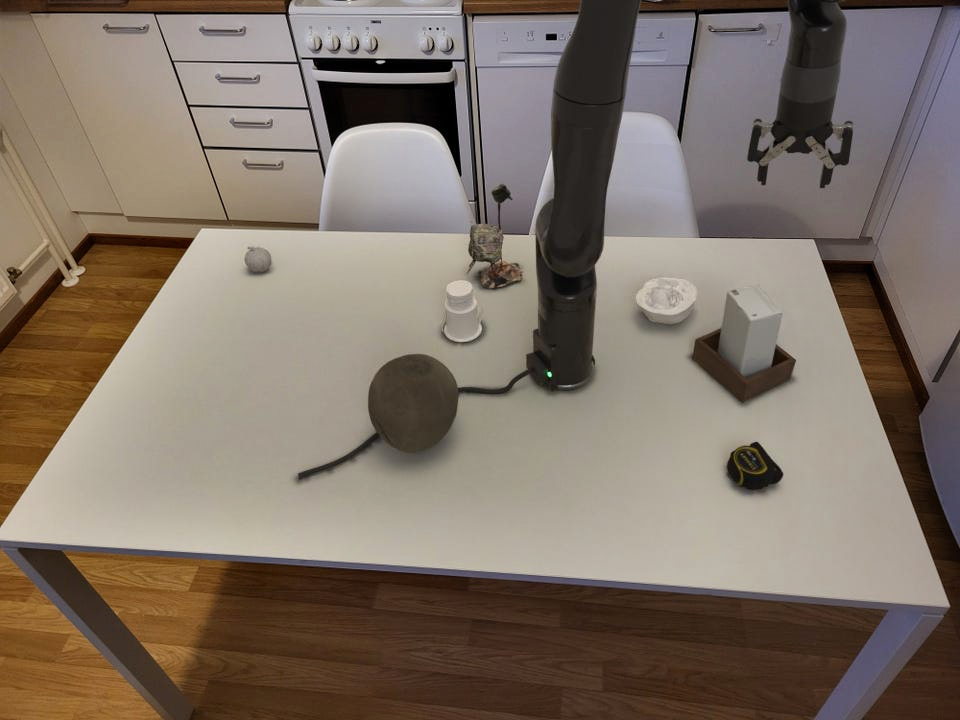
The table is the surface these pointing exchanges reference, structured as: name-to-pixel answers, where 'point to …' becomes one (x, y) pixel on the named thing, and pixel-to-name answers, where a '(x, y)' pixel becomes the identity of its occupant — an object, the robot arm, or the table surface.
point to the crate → (733, 378)
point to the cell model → (667, 299)
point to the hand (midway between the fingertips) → (792, 183)
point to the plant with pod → (492, 248)
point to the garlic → (258, 259)
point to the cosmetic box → (749, 330)
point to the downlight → (461, 313)
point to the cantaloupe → (413, 402)
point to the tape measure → (753, 467)
